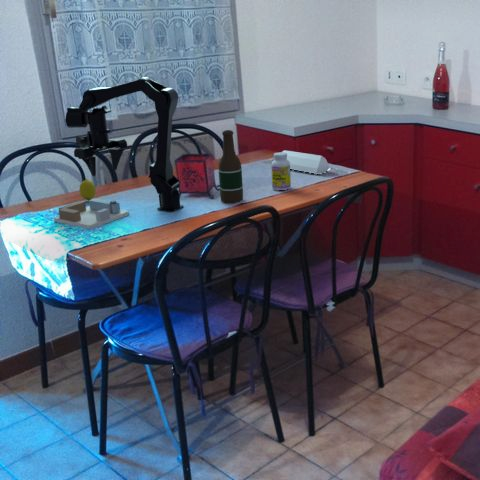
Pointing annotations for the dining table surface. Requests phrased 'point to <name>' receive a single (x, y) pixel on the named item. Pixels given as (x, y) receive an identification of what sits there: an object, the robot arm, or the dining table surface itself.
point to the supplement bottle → (280, 172)
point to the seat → (86, 215)
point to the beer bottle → (230, 171)
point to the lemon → (87, 189)
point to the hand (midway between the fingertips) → (104, 173)
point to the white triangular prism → (307, 162)
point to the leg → (104, 205)
